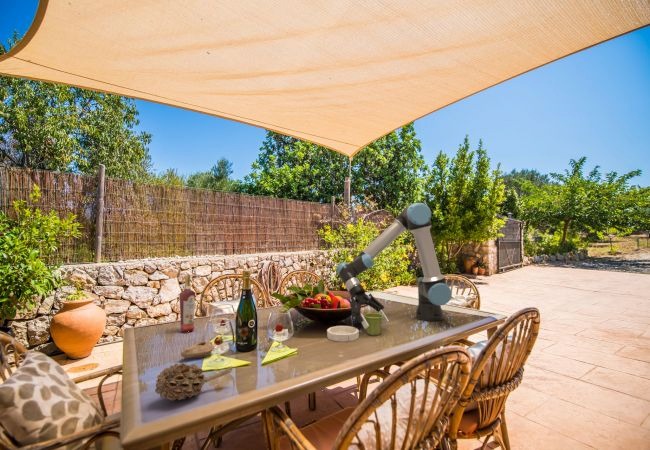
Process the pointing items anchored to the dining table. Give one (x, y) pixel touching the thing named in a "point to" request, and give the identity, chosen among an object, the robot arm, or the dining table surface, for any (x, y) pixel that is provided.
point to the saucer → (342, 333)
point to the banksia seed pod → (183, 381)
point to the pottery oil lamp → (198, 350)
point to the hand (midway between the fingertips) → (377, 324)
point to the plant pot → (373, 323)
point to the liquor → (187, 306)
